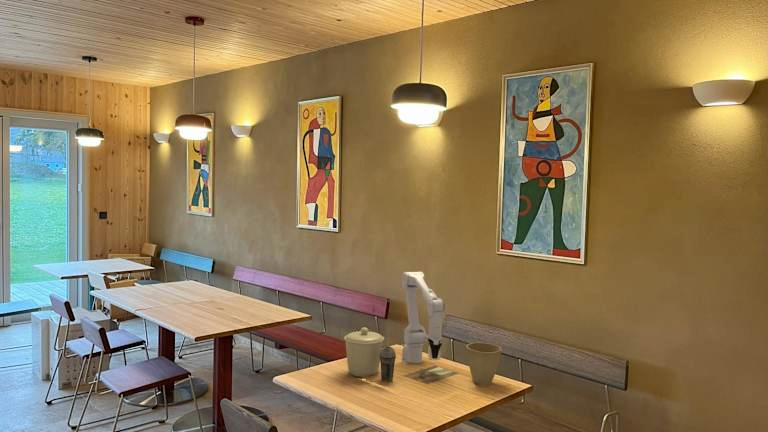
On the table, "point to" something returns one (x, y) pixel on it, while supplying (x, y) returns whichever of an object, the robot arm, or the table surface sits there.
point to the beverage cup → (387, 362)
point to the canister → (363, 352)
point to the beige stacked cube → (431, 354)
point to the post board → (430, 374)
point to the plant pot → (483, 362)
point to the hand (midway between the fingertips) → (434, 356)
